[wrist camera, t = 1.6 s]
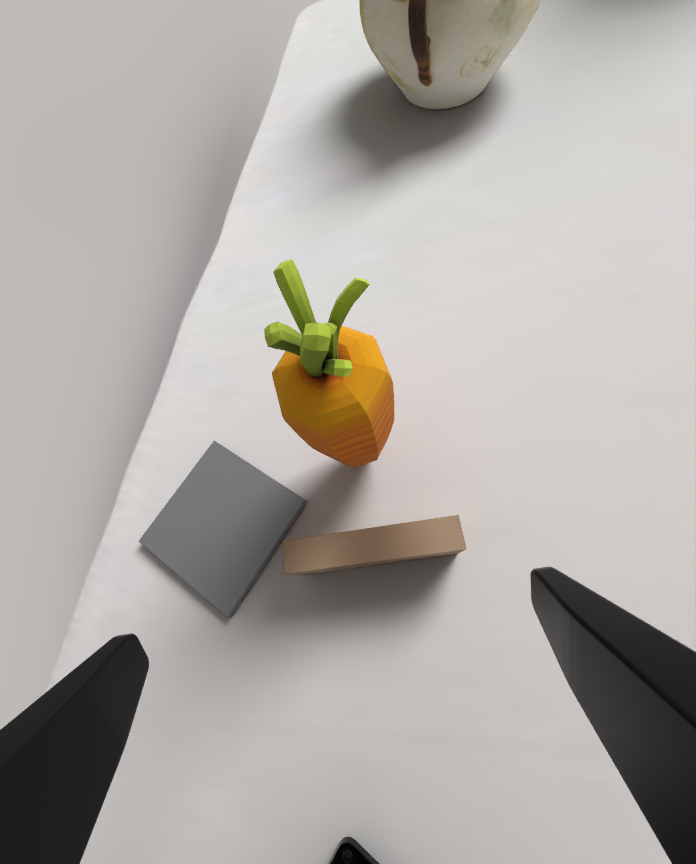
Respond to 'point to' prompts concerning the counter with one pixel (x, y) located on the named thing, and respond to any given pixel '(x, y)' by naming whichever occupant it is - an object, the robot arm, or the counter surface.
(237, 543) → the charcoal mat
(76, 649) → the counter surface
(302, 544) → the walnut block
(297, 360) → the carrot
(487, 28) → the sugar bowl
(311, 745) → the counter surface
